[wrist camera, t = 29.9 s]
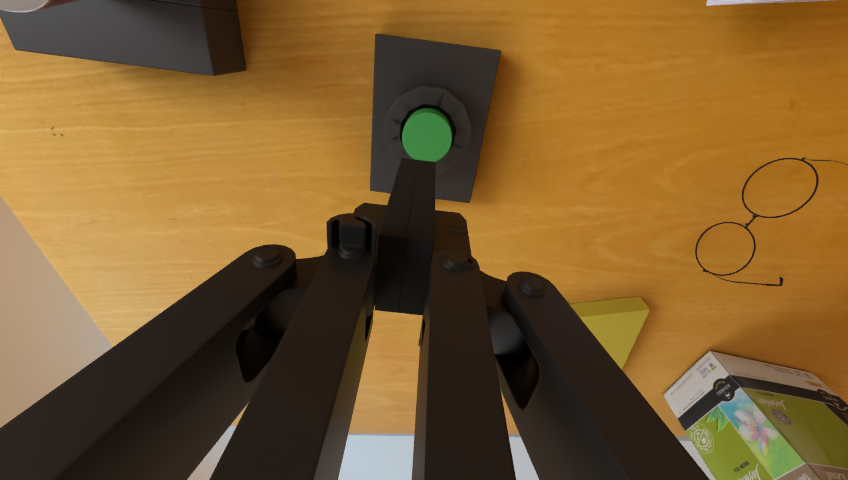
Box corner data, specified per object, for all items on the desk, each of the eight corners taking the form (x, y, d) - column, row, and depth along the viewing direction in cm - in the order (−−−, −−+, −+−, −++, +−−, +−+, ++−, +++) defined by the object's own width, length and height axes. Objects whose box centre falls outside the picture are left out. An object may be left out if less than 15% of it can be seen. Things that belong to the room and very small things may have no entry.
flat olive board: (443, 383, 46) (626, 367, 43) (444, 397, 45) (635, 382, 41) (428, 319, 40) (639, 296, 37) (427, 333, 39) (650, 309, 35)
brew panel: (379, 34, 25) (370, 33, 22) (496, 49, 26) (505, 51, 22) (374, 181, 32) (366, 199, 28) (468, 193, 32) (471, 212, 28)
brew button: (406, 105, 25) (404, 109, 23) (454, 111, 25) (455, 115, 23) (402, 153, 26) (400, 159, 25) (447, 158, 26) (447, 166, 25)
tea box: (659, 395, 46) (742, 531, 33) (707, 347, 41) (829, 485, 28) (755, 414, 47) (870, 552, 35) (813, 370, 42) (974, 511, 30)
